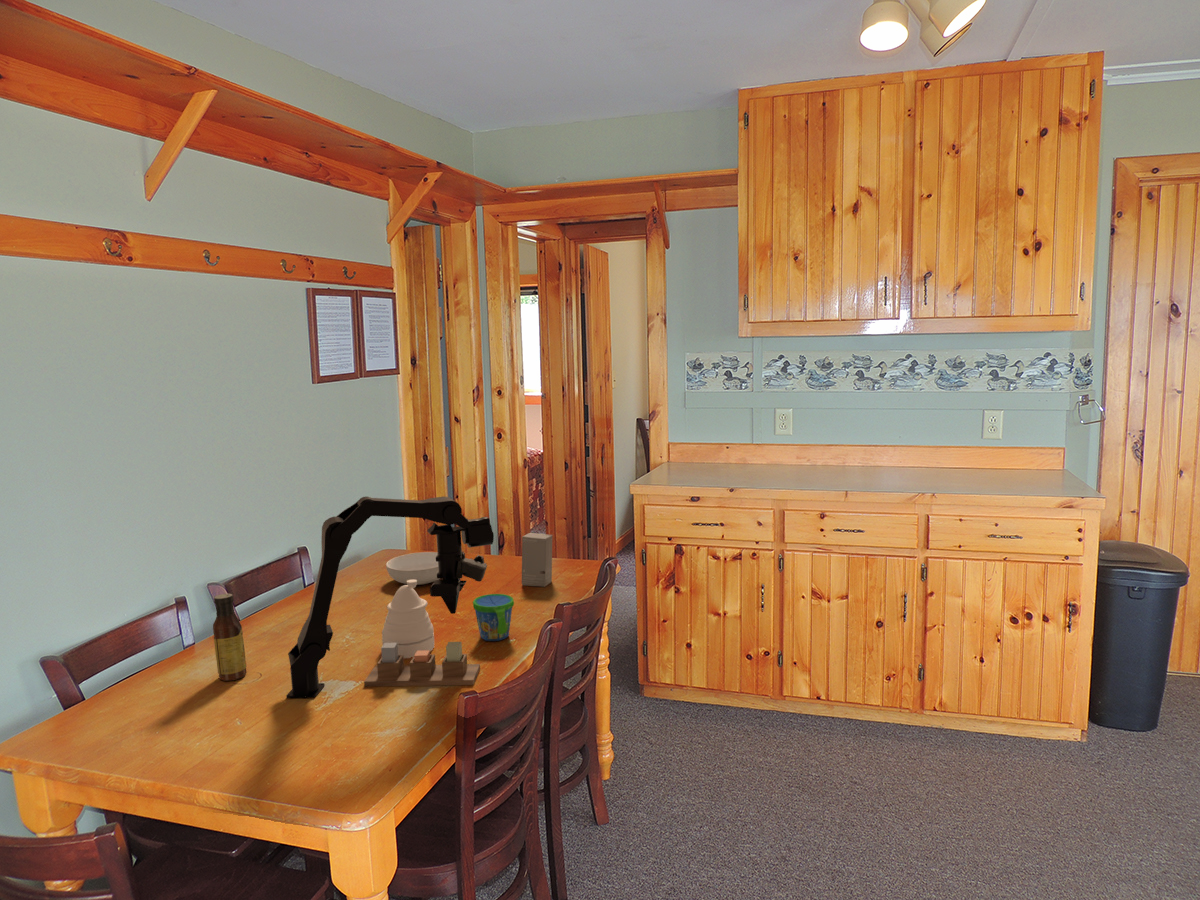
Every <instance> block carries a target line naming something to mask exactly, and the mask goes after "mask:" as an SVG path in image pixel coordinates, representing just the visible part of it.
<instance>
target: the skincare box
mask: <svg viewBox="0 0 1200 900" xmlns="http://www.w3.org/2000/svg"><path fill="white" fill-rule="evenodd" d="M521 539H522V540H521V541H522V543H521V546H522V547H521V585H522V586H527V587H528V586H529V587H543V588H545V587H547V586H549V584H551V583H552V580H553V579H552V578H553V577H552V576H553V575H552V574H553V572H552V571H553V534H547V533H546V534H545V533H535V532H528V533H527V534H525V535H522V538H521Z"/></svg>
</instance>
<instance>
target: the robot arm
mask: <svg viewBox="0 0 1200 900" xmlns="http://www.w3.org/2000/svg"><path fill="white" fill-rule="evenodd" d="M462 510H463V509H462V507H461V505H460V504H459V502H457V501H456V500H454V498H452V497H450V496H437V497H435V496H434V497H429V498H426V499H421V500H420V499H419V500H418V499H403V498H402V499H400V498H399V499H398V498H383V497H380V498H379V497H371V496H363V497H360V498H359V499H358V500H357V501H356V502H355V503H354V504H351V505H350V506H348V507H347V508H345V509H344V510H342V511H341V512H340V513H339V514H337V515H336V516H332V517H329V518H327V519H326V520H324V521H323V524H322V526H321V541H320V542H321V559H320V562H319V567H318V573H317V578H316V583H315V586H314V591H313V596H312V600H311V605H310V609H309V614H308V616H307V618H306V620H305V622H304V623H303V626H302V628H301V630H300V633H299V635H298V637H297V641H296V644H295V645H294V646H293V647H292V648H291V650H289V652H288V654H287V655H288V660H289V661H288V662H289V664H290V681H291V690H290V691H289V692H287V694H286V697H285V698H287V699H294V698H295V699H296V698H297V699H300V698H302V699H303V698H304V699H305V698H312V699H313V698H315V697H317V695H318V694H319V693H320V692H321V691H322V689H323V688H324V687H325V685H326V684H325V683H320V682H319V669H318V667H319V663H320V661H321V660H322V659H324V658H325V656H326V654H327V651H329V652H330V650H331V648H330V644H331V641H332V638H333V635H334V631H333V629H332V626H331V624H328V623H327V622H328V617H329V612H330V607H331V603H332V600H333V594H334V591H335V590H334V589H335V586H336V581H337V577H338V571H339V567H340V562H341V561H342V558H343V557H344V555H345V553H346V552H347V549H348V547H349V544H350V543H351V540H352V537H353V535H354V534H355V533H356V532H357V531H358V530H359V529H360V528H361V527H362V526H363V525H364V524H365V523H366V522H367V521H368V520H369V519H370V518H371V517H389V518H390V517H391V518H392V517H393V518H413V519H414V518H416V519H424V520H427V521H431V522H432V524H431V526H430V527H428V528H427V530H426V531H427V533H428V534H429V535H431V536H435V537H436V548H437V549H436V552H437V553H438V555H437V556H436V562H437V561H438V570H439V572H438V573H437V578H441V579H439V580H436V581H434V582H432V585H431V586H430V587H429V595H430V597H434V598H435V597H437V598H438V597H441V600H442V601H443V602H444V604H445V606H446V607H447V610H448V611H449V613H450V614H453V615H454V614H456V613H457V608H458V602H459V596H460V592H461V591H462V590H463V588H464V587H465V585H466V583H467V580H461V579H463V577H466V578H468V579H471V580H474V581H475V582H479V583H481V582H482V580H483V579H484V576H485V575H486V570H487V568H488V563H487V562H485V558H484V556H482V555H480V554H477V556H475V557H474V558H471V557H470V558H467V557H466V552H465V551H463V549H462V543H463V545H467V547H468V548H470V549H471V548H476V547H482V546H483V547H485V546H491V545H492V546H493V543H494V531H493V528H492V525H491V521H490V519H491V518H489V517H488V516H483V517H482V516H481V517H478V518H472V519H468V518H467V517H466V516H464V515H463V511H462ZM437 523H438V524H439V525H438V524H437ZM440 524H441V525H440ZM452 525H456V526H452Z"/></svg>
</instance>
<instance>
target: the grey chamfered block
mask: <svg viewBox="0 0 1200 900" xmlns="http://www.w3.org/2000/svg"><path fill="white" fill-rule="evenodd" d="M380 651H381V657H382V663H385V662H397V661H398V659H399V657H398V643H384V645H382V646H381V648H380Z"/></svg>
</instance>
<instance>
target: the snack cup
mask: <svg viewBox="0 0 1200 900" xmlns="http://www.w3.org/2000/svg"><path fill="white" fill-rule="evenodd" d="M514 605H515V601H514V598H513V596H511V595H508V594H504V593H488V594H483V595H480V596H478V597H476V598H474V600H473V601H472V607H473V609H474V611H475V617H476V622H477V627H478V633H479V636H480V638H481V639H483V640H484V641H485V642H487V641H489V642H499V641H501V640H505V639H506V638H508V637H509V636H510V629H511V621H512V614H513V613H512V611H513V607H514Z"/></svg>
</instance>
